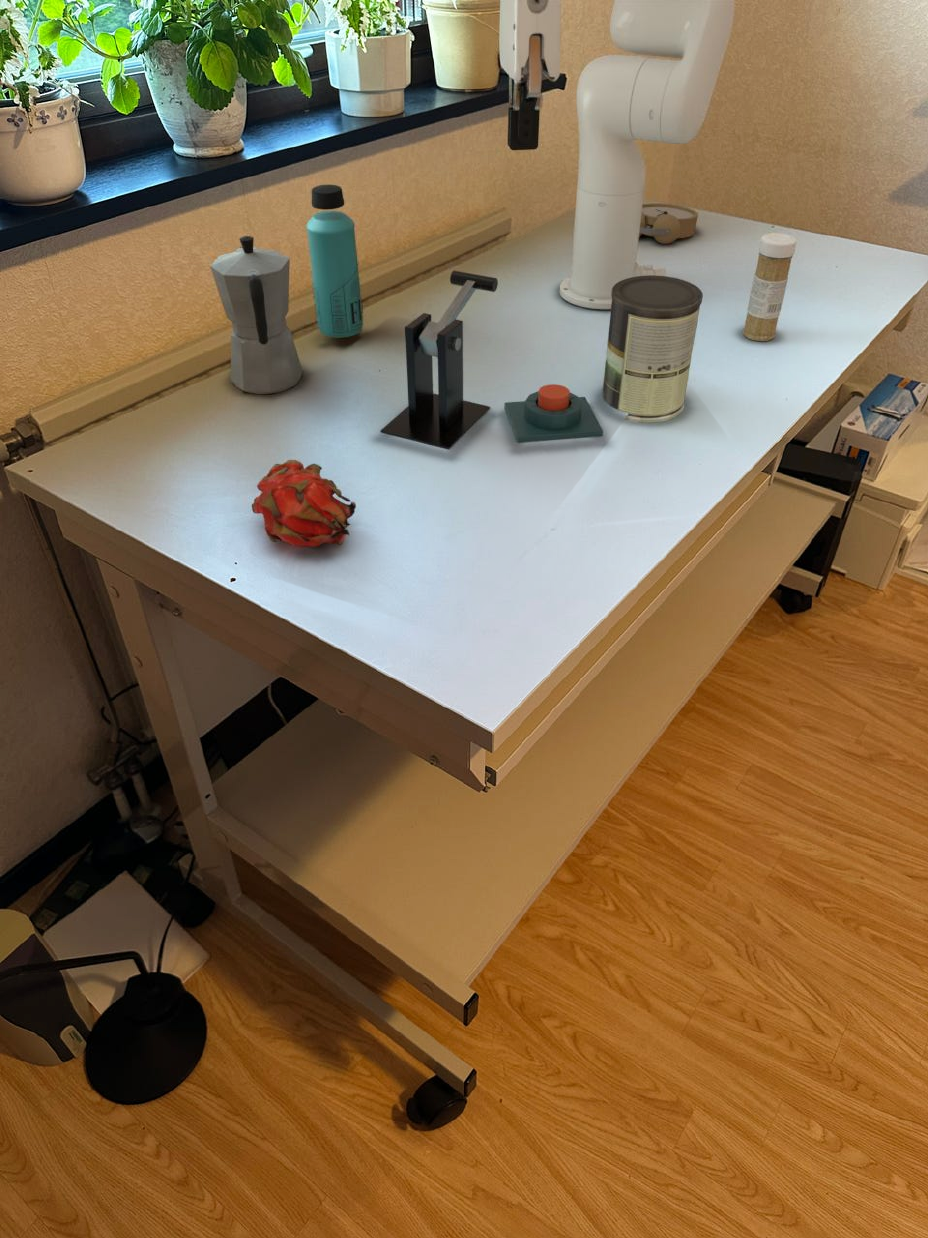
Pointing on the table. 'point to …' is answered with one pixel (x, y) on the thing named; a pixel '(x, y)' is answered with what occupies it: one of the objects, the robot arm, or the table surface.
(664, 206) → the alarm clock
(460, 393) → the bracket
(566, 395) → the button
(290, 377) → the coffeepot
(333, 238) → the beverage bottle
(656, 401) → the coffee can
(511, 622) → the table surface
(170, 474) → the table surface
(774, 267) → the sprinkles bottle
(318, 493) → the dragon fruit
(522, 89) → the robot arm
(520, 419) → the button box
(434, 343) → the lever
